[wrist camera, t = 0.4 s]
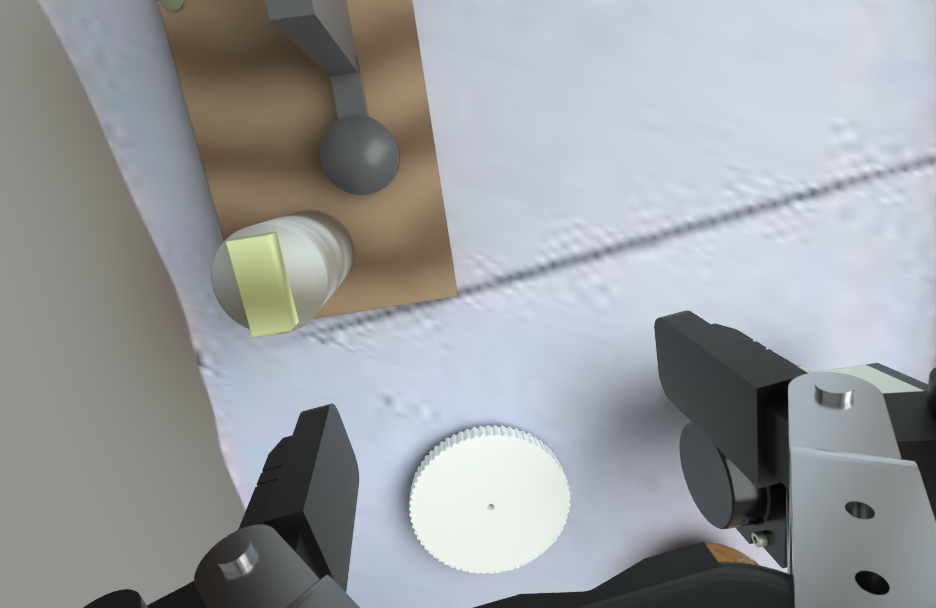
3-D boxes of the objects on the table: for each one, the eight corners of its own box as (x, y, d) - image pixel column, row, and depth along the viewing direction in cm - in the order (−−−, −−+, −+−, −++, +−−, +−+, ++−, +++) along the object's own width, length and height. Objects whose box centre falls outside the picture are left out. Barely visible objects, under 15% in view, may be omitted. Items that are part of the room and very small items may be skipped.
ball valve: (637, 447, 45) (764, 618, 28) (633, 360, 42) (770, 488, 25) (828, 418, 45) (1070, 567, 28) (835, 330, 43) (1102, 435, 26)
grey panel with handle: (279, -70, 31) (159, -259, 17) (359, -81, 31) (302, -277, 17) (336, 198, 35) (276, 215, 22) (405, 187, 35) (389, 197, 22)
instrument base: (164, -20, 33) (-13, -147, 20) (403, -53, 33) (385, -198, 20) (257, 321, 39) (170, 396, 26) (456, 289, 40) (468, 348, 27)
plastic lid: (586, 513, 46) (595, 532, 44) (454, 575, 47) (456, 597, 45) (524, 393, 43) (529, 406, 40) (382, 463, 44) (379, 480, 41)
